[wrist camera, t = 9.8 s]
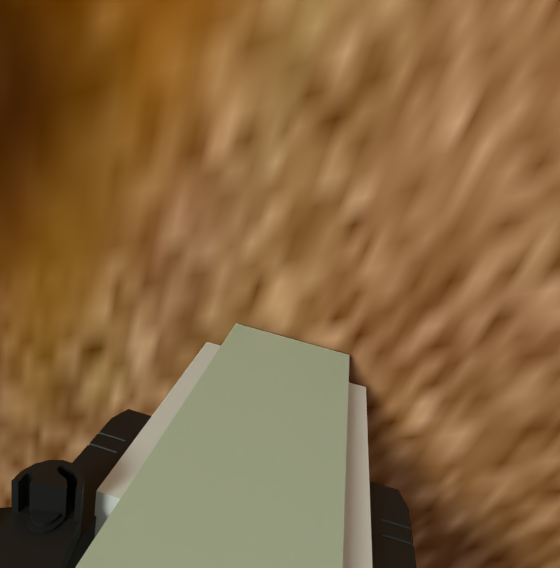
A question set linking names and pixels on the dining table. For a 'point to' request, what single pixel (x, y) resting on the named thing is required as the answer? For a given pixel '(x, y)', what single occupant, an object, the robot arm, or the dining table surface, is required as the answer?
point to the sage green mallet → (242, 467)
